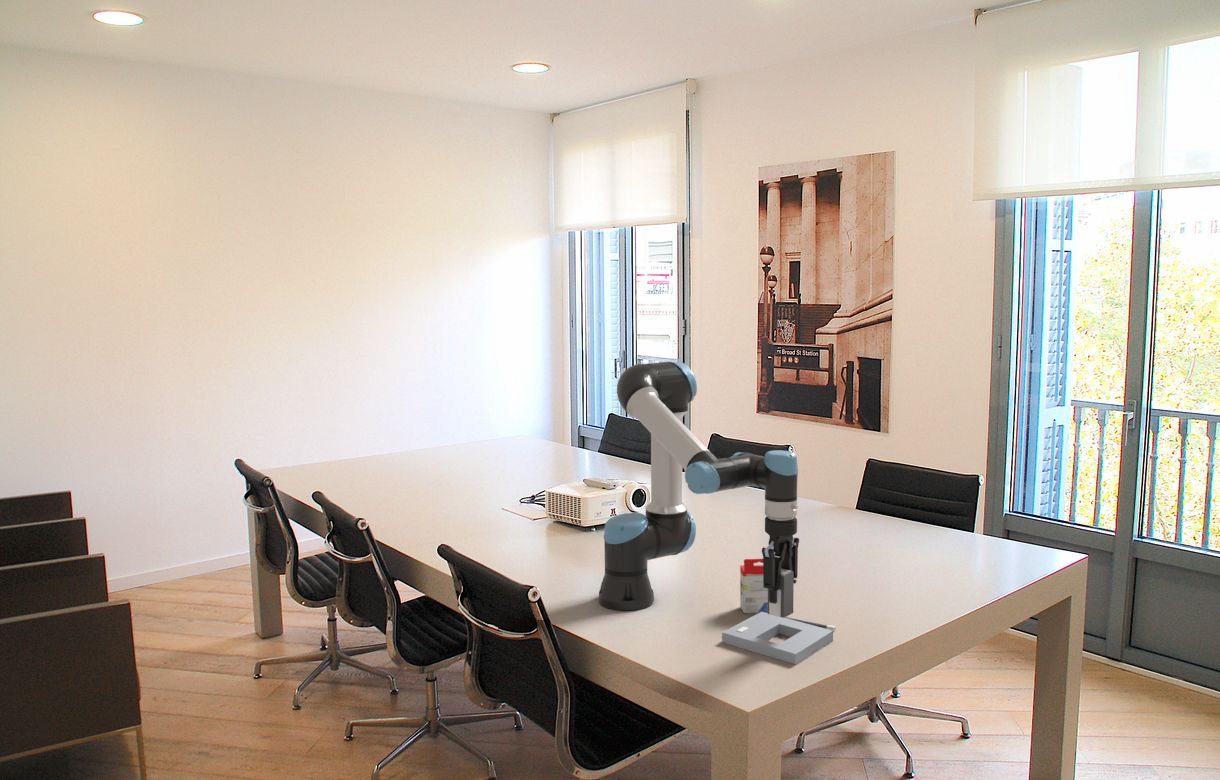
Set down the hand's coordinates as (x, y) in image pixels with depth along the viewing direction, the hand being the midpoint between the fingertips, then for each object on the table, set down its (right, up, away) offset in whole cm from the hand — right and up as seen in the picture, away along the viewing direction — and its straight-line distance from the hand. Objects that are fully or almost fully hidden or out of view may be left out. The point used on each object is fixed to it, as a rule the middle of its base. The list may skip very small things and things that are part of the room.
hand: (780, 612), depth 215 cm
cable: (+8, -6, +14) cm, 17 cm away
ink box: (-2, -6, +24) cm, 24 cm away
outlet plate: (0, -8, +3) cm, 8 cm away
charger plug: (0, 0, 0) cm, 0 cm away
